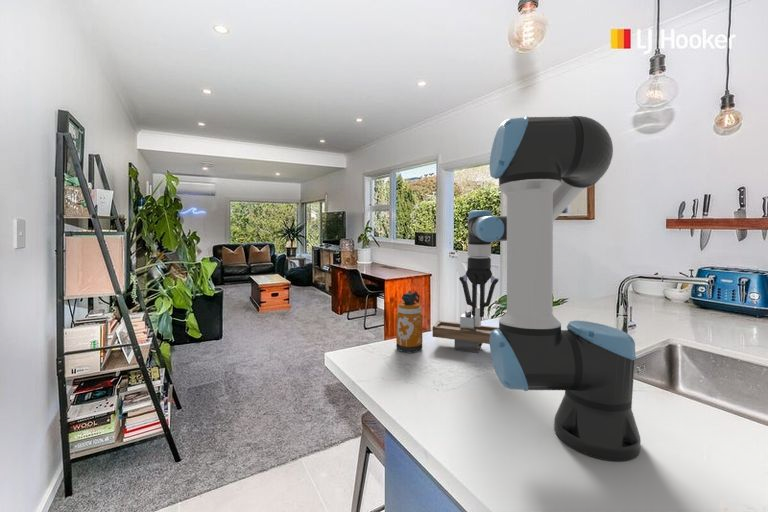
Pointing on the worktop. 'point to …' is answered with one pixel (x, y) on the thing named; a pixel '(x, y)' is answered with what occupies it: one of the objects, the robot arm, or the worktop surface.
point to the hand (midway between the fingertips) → (477, 325)
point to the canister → (409, 323)
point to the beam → (463, 335)
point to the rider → (467, 321)
